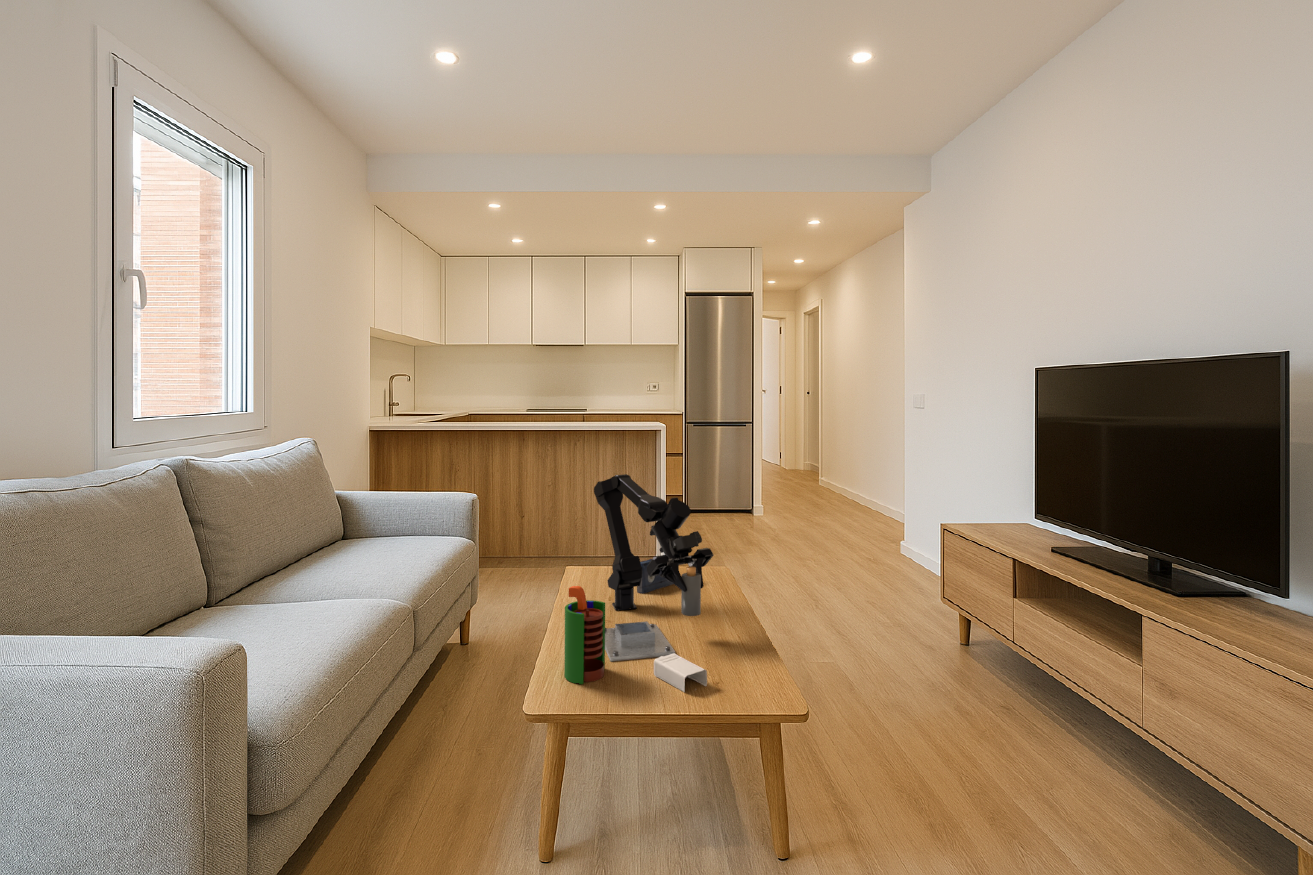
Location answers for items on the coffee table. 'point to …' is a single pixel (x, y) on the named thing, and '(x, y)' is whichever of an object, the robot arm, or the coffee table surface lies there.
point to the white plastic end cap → (678, 671)
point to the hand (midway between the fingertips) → (694, 589)
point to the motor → (584, 638)
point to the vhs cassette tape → (651, 580)
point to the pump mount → (636, 641)
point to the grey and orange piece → (691, 593)
